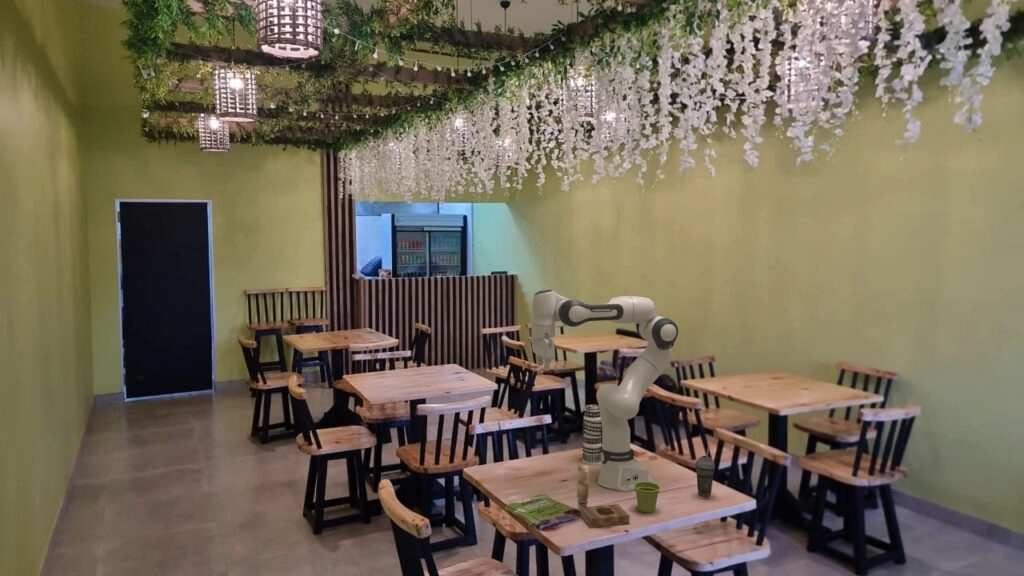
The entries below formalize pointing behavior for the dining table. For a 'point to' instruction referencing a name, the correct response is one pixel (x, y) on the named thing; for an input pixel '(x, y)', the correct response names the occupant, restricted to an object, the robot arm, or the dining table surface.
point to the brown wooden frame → (605, 515)
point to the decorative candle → (592, 434)
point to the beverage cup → (704, 475)
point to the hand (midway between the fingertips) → (543, 367)
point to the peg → (582, 485)
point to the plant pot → (646, 496)
